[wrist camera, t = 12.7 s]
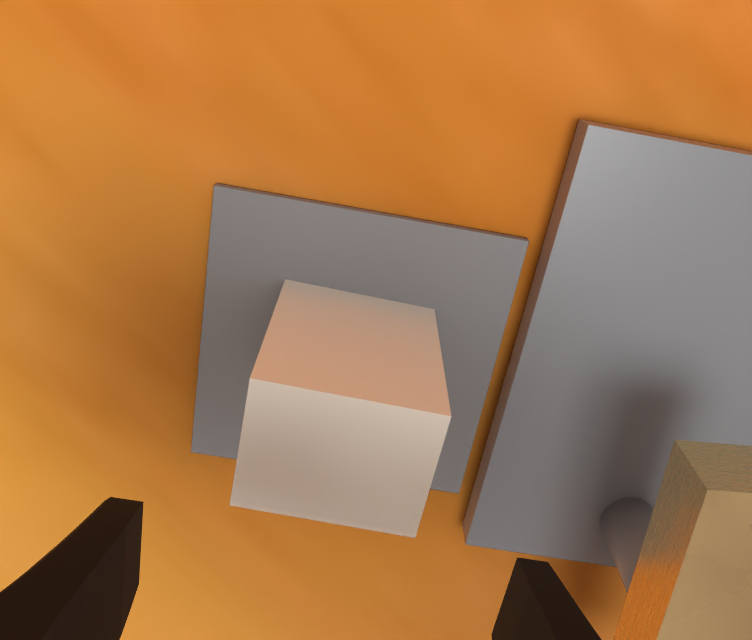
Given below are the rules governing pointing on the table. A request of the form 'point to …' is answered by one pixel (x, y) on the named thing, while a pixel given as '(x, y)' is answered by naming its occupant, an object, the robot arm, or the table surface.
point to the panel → (621, 347)
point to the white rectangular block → (344, 411)
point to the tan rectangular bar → (696, 550)
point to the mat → (357, 275)
